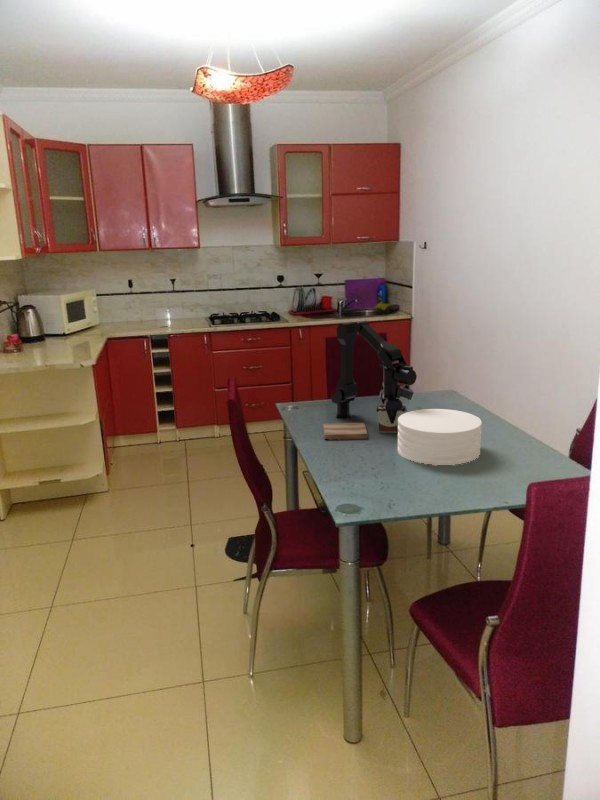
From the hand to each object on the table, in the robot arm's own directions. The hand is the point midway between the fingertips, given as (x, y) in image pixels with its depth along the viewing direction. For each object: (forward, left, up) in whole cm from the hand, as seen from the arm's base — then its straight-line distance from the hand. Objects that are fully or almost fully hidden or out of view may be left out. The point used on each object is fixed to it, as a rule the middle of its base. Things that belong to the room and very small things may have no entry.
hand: (390, 419), depth 230 cm
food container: (0, 0, -4) cm, 4 cm away
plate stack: (+25, +13, -4) cm, 29 cm away
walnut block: (+3, -18, -4) cm, 19 cm away
